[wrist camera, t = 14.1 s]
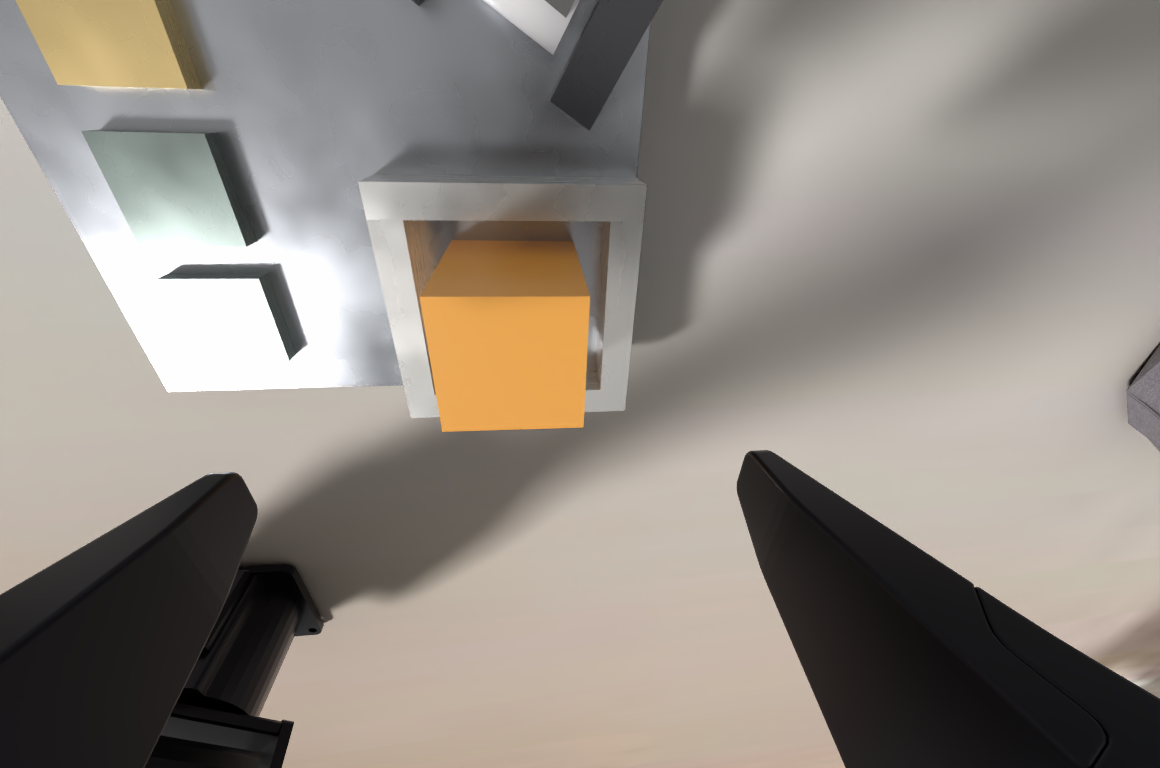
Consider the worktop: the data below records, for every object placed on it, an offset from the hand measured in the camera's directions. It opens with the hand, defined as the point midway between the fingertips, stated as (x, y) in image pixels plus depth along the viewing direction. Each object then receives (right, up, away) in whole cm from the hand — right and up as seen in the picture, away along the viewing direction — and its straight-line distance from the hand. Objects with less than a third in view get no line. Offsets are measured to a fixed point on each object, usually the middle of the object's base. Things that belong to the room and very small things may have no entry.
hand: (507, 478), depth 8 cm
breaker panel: (-6, +9, +7) cm, 13 cm away
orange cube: (-1, +5, +8) cm, 9 cm away
